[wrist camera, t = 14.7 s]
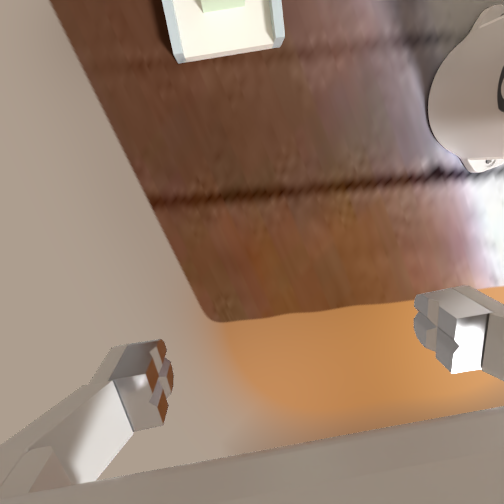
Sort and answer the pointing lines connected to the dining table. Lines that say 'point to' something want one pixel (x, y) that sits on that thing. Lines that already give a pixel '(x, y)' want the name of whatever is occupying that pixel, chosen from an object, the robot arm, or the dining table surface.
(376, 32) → the dining table surface
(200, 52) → the holder
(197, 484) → the robot arm
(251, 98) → the dining table surface
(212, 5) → the green block
